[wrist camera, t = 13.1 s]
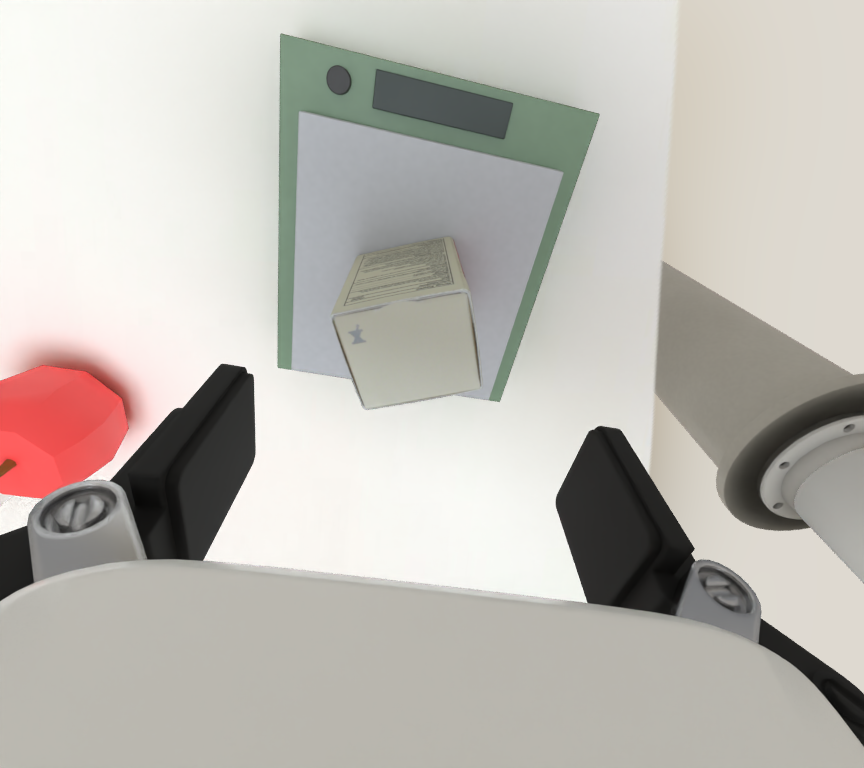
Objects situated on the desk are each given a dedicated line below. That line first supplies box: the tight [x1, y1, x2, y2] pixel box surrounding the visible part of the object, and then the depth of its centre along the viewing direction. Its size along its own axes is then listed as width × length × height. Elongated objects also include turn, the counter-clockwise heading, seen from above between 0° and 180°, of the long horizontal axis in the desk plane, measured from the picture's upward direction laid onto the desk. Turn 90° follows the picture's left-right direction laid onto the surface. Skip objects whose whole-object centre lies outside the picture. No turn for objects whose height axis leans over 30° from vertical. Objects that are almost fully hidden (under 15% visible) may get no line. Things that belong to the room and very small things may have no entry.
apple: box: [0, 365, 129, 498], centre depth 27 cm, size 8×8×8 cm
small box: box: [330, 237, 483, 410], centre depth 19 cm, size 5×4×8 cm
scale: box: [278, 34, 600, 402], centre depth 23 cm, size 14×16×4 cm
